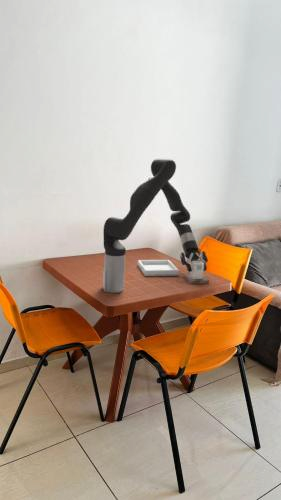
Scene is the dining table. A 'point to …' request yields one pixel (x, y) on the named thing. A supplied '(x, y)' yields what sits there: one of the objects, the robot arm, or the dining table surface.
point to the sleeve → (197, 269)
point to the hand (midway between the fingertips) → (198, 270)
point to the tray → (157, 268)
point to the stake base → (195, 281)
